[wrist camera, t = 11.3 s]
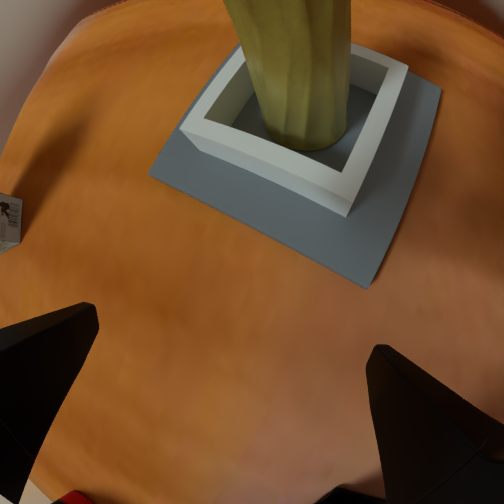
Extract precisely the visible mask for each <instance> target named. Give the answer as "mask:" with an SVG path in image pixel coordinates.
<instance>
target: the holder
mask: <svg viewBox="0 0 504 504" xmlns="http://www.w3.org/2000/svg"><path fill="white" fill-rule="evenodd" d="M408 67H409V66H408V65H406V64H403V63H401V62H399V61H397V60H395V59H392V58H390V57H388V56H385V55H383V54H380V53H378V52H375V51H373V50H370V49H368V48H365V47H362V46H359V45H357V44H354V43H351V58H350V83H349V97H348V103H347V111H348V124H347V128H346V130H345V132H344V134H343V135H342V136H341V137H340V138H339V139H338V140H337V141H336V142H335V143H334V144H332V145H330V146H328V147H326V148H323V149H320V150H315V151H302V150H295V149H290V148H287V147H285V146H283V145H281V144H279V143H278V142H276V141H275V140H274V139H273V138H272V137H271V136H270V135H269V134H268V132H267V130H266V128H265V126H264V123H263V119H262V111H261V108H260V105H259V102H258V98H257V95H256V92H255V89H254V86H253V82H252V79H251V76H250V72H249V69H248V66H247V63H246V60H245V57H244V54H243V51H242V48H241V45H240V42H239V44H238V45H237V46H236V47H235V48H234V49H233V51H232V52H231V53H230V54H229V55H228V57H227V58H226V59H225V60H224V61H223V63H222V64H221V65H220V66H219V68H218V69H217V70H216V72H215V73H214V74H213V75H212V77H211V78H210V79H209V81H208V82H207V83H206V85H205V86H204V87H203V89H202V90H201V91H200V93H199V94H198V95H197V97H196V98H195V100H194V101H193V103H192V104H191V105H190V107H189V108H188V110H187V111H186V113H185V114H184V116H183V117H182V119H181V120H180V122H179V123H178V125H177V126H176V128H175V129H174V131H173V132H172V134H171V135H170V137H169V139H168V140H167V142H166V143H165V145H164V147H163V148H162V150H161V152H160V153H159V155H158V157H157V158H156V160H155V162H154V164H153V165H152V167H151V169H150V171H149V172H148V175H150V176H151V177H153V178H155V179H157V180H159V181H161V182H163V183H165V184H167V185H169V186H171V187H173V188H175V189H177V190H179V191H181V192H183V193H185V194H187V195H189V196H191V197H193V198H195V199H197V200H199V201H201V202H203V203H205V204H207V205H209V206H211V207H212V208H214V209H216V210H218V211H220V212H222V213H224V214H226V215H228V216H230V217H232V218H234V219H236V220H238V221H240V222H242V223H243V224H245V225H247V226H249V227H251V228H253V229H255V230H257V231H259V232H261V233H263V234H264V235H266V236H268V237H270V238H272V239H274V240H276V241H278V242H280V243H281V244H283V245H285V246H287V247H289V248H291V249H293V250H295V251H296V252H298V253H300V254H302V255H304V256H306V257H308V258H309V259H311V260H313V261H315V262H317V263H319V264H320V265H322V266H324V267H326V268H328V269H330V270H331V271H333V272H335V273H337V274H339V275H341V276H342V277H344V278H346V279H348V280H350V281H351V282H353V283H355V284H357V285H359V286H360V287H362V288H364V289H368V287H369V286H370V284H371V282H372V280H373V278H374V276H375V274H376V272H377V270H378V268H379V266H380V264H381V261H382V259H383V257H384V255H385V253H386V251H387V249H388V247H389V244H390V242H391V240H392V238H393V235H394V233H395V231H396V228H397V226H398V224H399V221H400V219H401V217H402V214H403V212H404V209H405V207H406V204H407V202H408V199H409V196H410V194H411V191H412V188H413V186H414V183H415V180H416V177H417V174H418V171H419V169H420V166H421V163H422V160H423V156H424V153H425V150H426V147H427V144H428V140H429V137H430V133H431V130H432V126H433V122H434V119H435V115H436V111H437V107H438V102H439V98H440V93H441V88H440V87H438V86H436V85H434V84H433V83H431V82H429V81H427V80H425V79H423V78H422V77H420V76H418V75H416V74H414V73H412V72H410V71H408Z"/></svg>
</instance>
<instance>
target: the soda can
mask: <svg viewBox="0 0 504 504" xmlns="http://www.w3.org/2000/svg"><path fill="white" fill-rule="evenodd" d="M52 504H94V503H93V502H92V501H91V500H90V499H88V498H87V497H86V496H84V495H83V494H81V493H79V492H76V491H70V492H69V493H67V494H66V495H64V496H63V497H61V498H60V499H58V500H56V501H55V502H53V503H52Z"/></svg>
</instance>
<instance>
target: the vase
mask: <svg viewBox="0 0 504 504" xmlns="http://www.w3.org/2000/svg"><path fill="white" fill-rule="evenodd" d="M223 1H224V4H225V6H226V9H227V11H228V13H229V15H230V18H231V20H232V23H233V26H234V28H235V31H236V34H237V37H238V39H239V42H240V45H241V48H242V51H243V54H244V57H245V60H246V63H247V66H248V69H249V72H250V76H251V79H252V82H253V86H254V89H255V92H256V95H257V98H258V102H259V105H260V108H261V111H262V119H263V123H264V126H265V128H266V130H267V132H268V134H269V135H270V136H271V137H272V138H273V139H274V140H275V141H276V142H278V143H279V144H281V145H283V146H285V147H287V148H290V149H295V150H302V151H315V150H320V149H323V148H326V147H328V146H330V145H332V144H334V143H335V142H336V141H337V140H338V139H339V138H340V137H341V136H342V135H343V134H344V132H345V130H346V128H347V124H348V111H347V103H348V97H349V83H350V58H351V0H223Z"/></svg>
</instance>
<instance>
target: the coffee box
mask: <svg viewBox="0 0 504 504" xmlns="http://www.w3.org/2000/svg"><path fill="white" fill-rule="evenodd" d="M22 203H23V200H22V199H20V198H16V197H12V196H9V195H6V194H3V193H0V254H1V253H3V252H5V251H7V250H9V249H10V248H12V247H14V246H16V245H18V244H20V240H21V216H22Z"/></svg>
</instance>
